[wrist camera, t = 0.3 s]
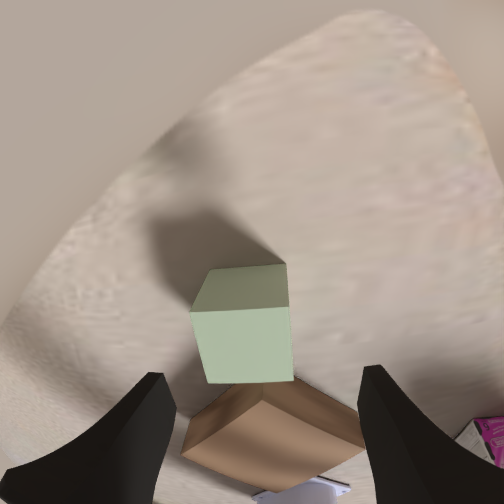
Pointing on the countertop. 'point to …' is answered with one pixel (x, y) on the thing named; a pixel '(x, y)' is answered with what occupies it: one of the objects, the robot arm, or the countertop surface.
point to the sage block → (244, 325)
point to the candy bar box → (484, 439)
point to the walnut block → (273, 434)
